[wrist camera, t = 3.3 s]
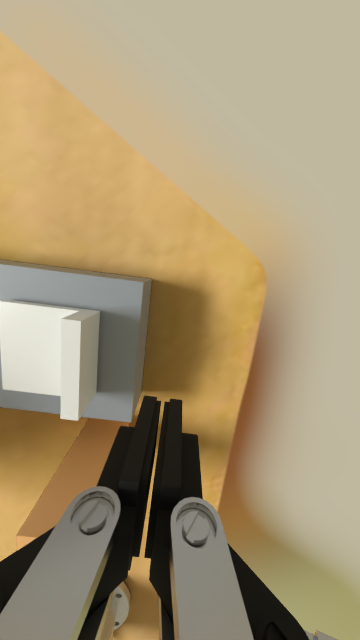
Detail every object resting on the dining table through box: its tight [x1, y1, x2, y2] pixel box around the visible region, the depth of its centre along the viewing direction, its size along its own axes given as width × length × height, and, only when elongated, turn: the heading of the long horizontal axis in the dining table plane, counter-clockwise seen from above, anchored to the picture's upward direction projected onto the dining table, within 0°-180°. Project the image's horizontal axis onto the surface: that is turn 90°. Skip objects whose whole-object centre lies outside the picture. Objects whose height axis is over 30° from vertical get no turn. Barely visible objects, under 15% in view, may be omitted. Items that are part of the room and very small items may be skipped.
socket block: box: [0, 260, 152, 422], centre depth 20 cm, size 12×20×5 cm, turn 83°
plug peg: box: [16, 418, 129, 551], centre depth 20 cm, size 4×4×12 cm
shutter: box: [0, 299, 100, 421], centre depth 16 cm, size 7×7×3 cm
